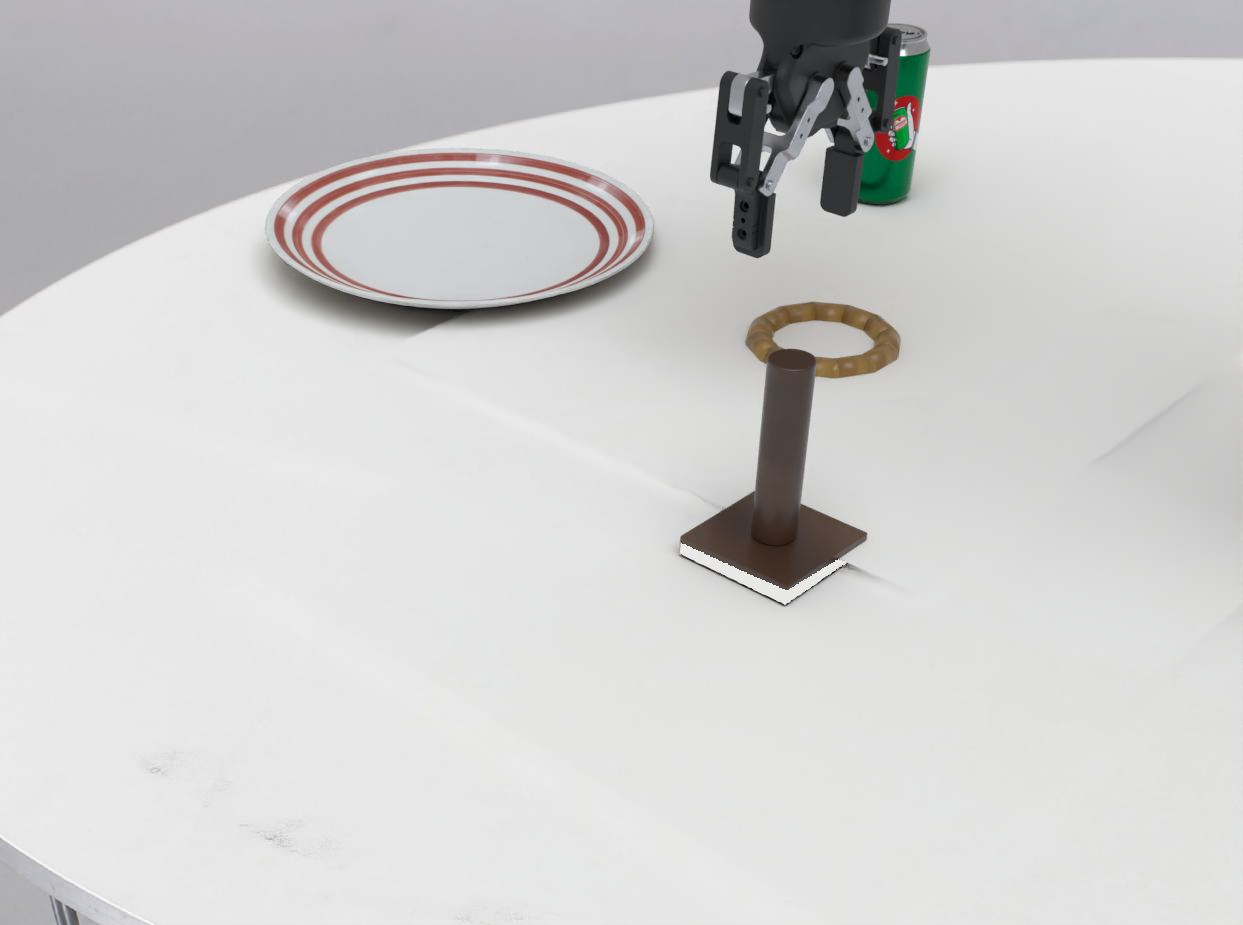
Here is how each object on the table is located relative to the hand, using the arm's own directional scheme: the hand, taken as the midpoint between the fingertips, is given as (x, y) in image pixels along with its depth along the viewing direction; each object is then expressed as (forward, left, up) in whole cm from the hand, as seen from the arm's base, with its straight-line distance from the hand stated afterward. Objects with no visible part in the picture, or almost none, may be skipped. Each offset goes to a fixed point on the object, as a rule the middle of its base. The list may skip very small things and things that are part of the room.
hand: (795, 232), depth 96 cm
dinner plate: (+1, -28, -9) cm, 30 cm away
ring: (-4, 0, -8) cm, 9 cm away
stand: (+17, +12, -9) cm, 23 cm away
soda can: (-29, -13, -9) cm, 33 cm away
